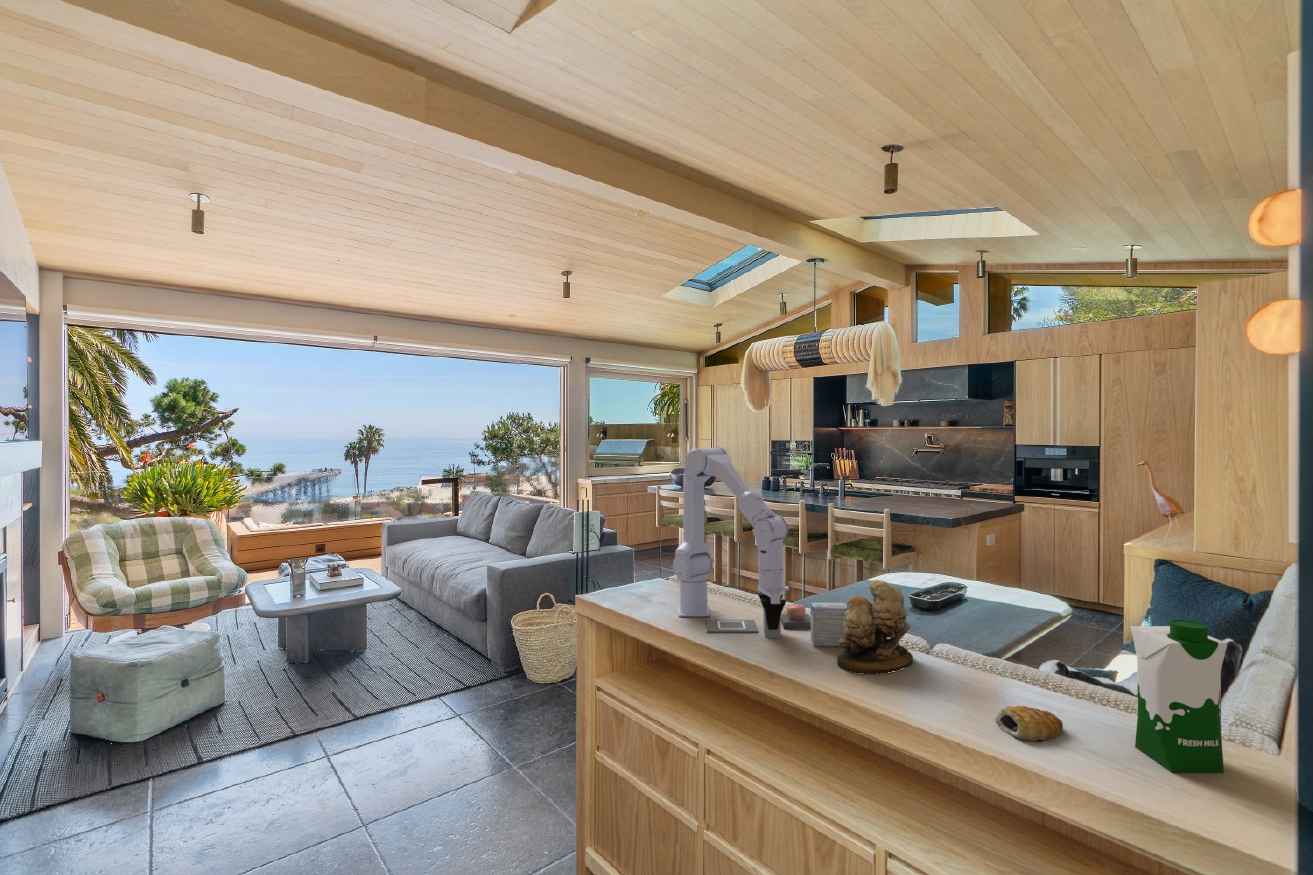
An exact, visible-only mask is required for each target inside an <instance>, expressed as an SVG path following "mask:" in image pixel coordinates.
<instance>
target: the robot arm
mask: <svg viewBox="0 0 1313 875" xmlns="http://www.w3.org/2000/svg"><path fill="white" fill-rule="evenodd" d="M711 477H715V478H718V479H720V480H721V481H722V483H723V484H724V485H726V487H727V488H728V490H730V492H731V493H732V494H733V495H734V496H735V497H736V498H737V507H738V509H739V510H740V511H741V512H742V514H743V516H744V517H745V518H746V519H747V520H748V523H749V524H751V526H752V529H751V532H752V535H753V537H754V539H755V541H756V547H757V550H758V551H757V552H758V553H757V554H758V587H757V591H758V592H757V596H758V598H759V600H760V603H761V606H762V608H763V607H764V610H765V614H766V620H767V626H768V629H769V630H778V627H779V622H780V623H781V621H780V616H781V614H782V612H783V609H784V607H785V606H786V604H787V602H786V599H782V597H783V594H784V593H785V592H789V591H790V588H789V586H787V585H785V584H784V583H785V582H784V579H785V578H784V576H785V575H784V574H785V573H784V572H785V571H784V539H785V538H787V536H788V532H789V527H788V522H787V521H786V519H785V518H784V517H783V516H782V515H778V514H776V513H775V512H774V511H773V510H772V509H771V508H770V507H769V506H768V505H767V503H766V502H765V501H764V499H763V495H761V493H758V492H757V491H752V490H750V489H749V488H748V486H747V485H746V483H745V481H744V480H743V479H742V477H741V475H740V474H739V473H738V471H737V470H736V468H735V467H734V465H733V464H732V457H731V455H729V454H728V451H726V449H724V448H723V447H721V446H716V447H700V448H699V447H694V448H691V449H690V450H689V452H687V454H685V455H684V472H683V475H682V480H683V481H682V494H683V495H682V499H683V500H682V502H683V503H682V504H683V505H682V506H683V507H682V508H683V510H682V512H683V514H682V516H683V518H682V519H683V521H682V525H683V528H682V529H683V530H682V531H683V533H682V536H683V538H682V539H683V542H682V543H681V544H680V545H678V547H677V548H676V549H675V553H674V554H675V557H674V559H673V562H672V570H673V573H674V575H675V576H676V578H677V581H679V604H678V617H710V606H709V605H708V579H709V578H710V574H711V573H712V572H713V568H714V561H713V557H712V553H711V552H712V551H711V547H710V546H709V545H708V544H707V543H706V542H705V483H706V481H707V480H709V479H710V478H711Z"/></svg>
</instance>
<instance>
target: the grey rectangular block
mask: <svg viewBox="0 0 1313 875" xmlns="http://www.w3.org/2000/svg"><path fill="white" fill-rule="evenodd" d="M762 612H763V614H762V616H763V617H762V618H763V619H762V622H763V624H762V626H763V627H762V628H763V629H762V630H763V635H764V638H781V636H782V633H781V632H782V630H781V621H780V622H779V627H778V630H769V629H768V626H767V620H766V614H765V610H764V607H763V606H762Z"/></svg>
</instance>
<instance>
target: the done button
mask: <svg viewBox="0 0 1313 875" xmlns="http://www.w3.org/2000/svg"><path fill="white" fill-rule="evenodd" d="M786 614H787V616H789V617H792V618H803V617H805V614H806V606H805V605H804V604H801V603H789V604H787V605H786Z"/></svg>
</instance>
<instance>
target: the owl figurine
mask: <svg viewBox="0 0 1313 875" xmlns="http://www.w3.org/2000/svg"><path fill="white" fill-rule="evenodd" d="M869 590H870V593H871V595H872V600H873V603H871V602H870V601H869V600H868V599H867V598H866V597H864V596H862V595H858V594H855V595H852V596H850V598H849V599H848V602H847V604H846V605H847V608H846V609H847V611H846V612H845V614H844V623H843V632H844V634H845V635H846V637H844V638H839V641H838V645H839V646H838V647H840V648H842V649H843V651H842V653H840V654H839V655H838V656H837V659H836V660H837V665H838V667H839V668H840V669H843V670H844V669H845V670H844V671H847V670H848V671H847V672H849V671H851V672H850V673H854V672H856V673H855V674H857V673H862V674H861V675H865V674H877V673H878V674H877V675H881V674H880V673H888V672H892V671H897V670H900V669H902V668H906V667H908V666H909V665H910V666H912V664H913V662H914V656H913V654H912V653H911V652H910V651H908V649H907V648H906V647H904V646H902V645H900V644H899V643H900V641H901V639H903V638H904V636H905V635H906V634H907V632H908V631H909V630H910V629H911V626H912V625H911V624H910V623H909V622H907V618H906V617H907V616H908V612H907V609H906V608H905V607H904V605H905V596H904V595H903V593H902V591H901V590H900V588H898V587H896V586H893V585H890V584H889V583H887V582H886V581H884V580H880V579H874V580H872V581H871V583H870V584H869ZM910 666H909V667H910ZM909 667H908V668H909ZM906 669H907V668H906ZM897 672H898V671H897ZM863 673H864V674H863ZM888 674H889V673H888Z"/></svg>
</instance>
